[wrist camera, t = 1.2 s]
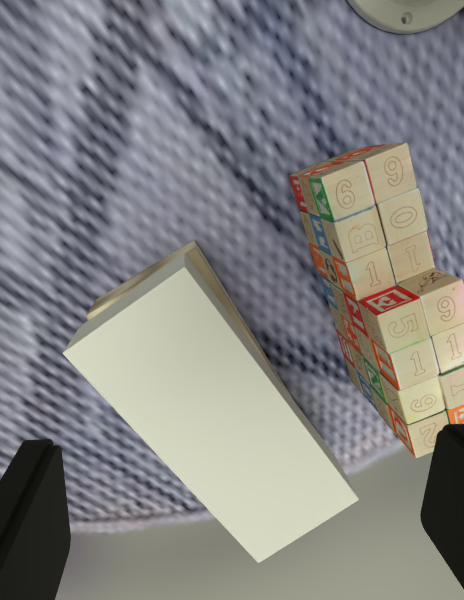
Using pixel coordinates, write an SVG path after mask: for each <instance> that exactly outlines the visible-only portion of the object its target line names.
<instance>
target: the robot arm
mask: <svg viewBox="0 0 464 600" xmlns="http://www.w3.org/2000/svg"><path fill="white" fill-rule="evenodd" d="M347 1H348V2H349V4H350V5H351V6H352V7H353V9H354V10H355V11H356V12H357V14H359V15H360V16H361V17H362V18H363V19H365V20H366V21H367V22H368V23H370V24H372V25H373V26H375V27H377V28H379V29H381V30H384V31H388V32H392V33H396V34H412V33H417V32H422V31H426V30H428V29H430V28H433V27H435V26H437V25H439V24H441V23H442V22H444V21H446V20H447V19H449V18H451V17H452V16H453V15H455V14H456V13H457V12H458V11H459V10H460V9H462V8H463V7H464V0H347ZM402 19H403V21H404V24H403V22H402ZM421 522H422V525H423V528H424V529H425V531H426V533H427V534H428V536H429V537H430V539H431V540H432V542H433V543H434V545H435V546H436V548H437V549H438V551H439V552H440V554H441V555H442V557H443V558H444V560H445V561H446V563H447V564H448V566H449V567H450V569H451V570H452V572H453V573H454V575H455V577H456V578H457V580H458V581H459V582H460V584H461V586H462V587H463V589H464V424H447V425H445V426H444V427H443V429H442V430H441V431H439V432H438V433H437V437H436V442H435V446H434V451H433V456H432V461H431V465H430V471H429V475H428V480H427V485H426V490H425V494H424V500H423V504H422V509H421ZM70 541H71V535H70V525H69V516H68V506H67V497H66V488H65V478H64V469H63V459H62V451H61V447H60V446H59V445H56V446H54V445H53V442H52V440H51V439H43V440H25V441H24V442H23V443H22V444H21V446H20V448H19V449H18V451H17V453H16V455H15V456H14V458H13V460H12V461H11V463H10V465H9V467H8V468H7V470H6V472H5V473H4V475H3V477H2V478H1V480H0V600H55V597H56V594H57V591H58V587H59V584H60V580H61V577H62V574H63V571H64V567H65V564H66V561H67V557H68V554H69V549H70Z"/></svg>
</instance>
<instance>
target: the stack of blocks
mask: <svg viewBox="0 0 464 600" xmlns="http://www.w3.org/2000/svg"><path fill="white" fill-rule="evenodd" d="M289 178H290V181H291V184H292V187H293V190H294V193H295V196H296V200H297V202H298V206H299V208H300V211H299V212H300V216H301V219H302V222H303V225H304V228H305V232H306V235H307V238H308V240H309V245H310V248H311V251H312V255H313V258H314V261H315V264H316V267H317V271H318V272H319V274H320V278H321V281H322V284H323V287H324V291H325V294H326V297H327V300H328V302H329V306H330V309H331V313H332V316H333V319H334V322H335V325H336V331H337V335H338V338H339V341H340V344H341V348H342V351H343V354H344V358H345V362H346V365H347V368H348V372H349V375H350V378H351V381H352V382H353V383H354V384H355V386H356V387H357V388H358V389H359V390H360V392H361V393H362V394H363V395H364V396H365V397H366V398H367V399H368V401H369V402H370V403H371V404H372V405H373V406H374V408H375V409H376V410H377V412H378V413H379V415H380V416H381V417H382V418H383V420H384V421H385V422H386V423H387V425H388V426H389V427H390V428H391V429H392V431H393V432H394V433H395V434H397V436H398V437H399V438H400V440H401V441H402V442H403V443H404V445H405V446H406V447H407V448H408V449H409V451H410V452H411V453H412V454H413V455H414V456H415V457H417V458H418V457H420V456H423V455H425V454H427V453H430V452H432V451H434V446H435V442H436V437H437V433H438V432H439V431H441V430H442V429H443V427H444V426H445V425H447V424H464V283H463V280H462V279H461V278H458V277H455V276H453V275H451V274H448V273H446V272H443V271H441V270H439V269H436V268H435V263H434V259H433V254H432V250H431V246H430V241H429V236H428V232H427V229H428V226H427V222H426V217H425V213H424V208H423V204H422V199H421V195H420V190H419V188H418V187H417V183H416V178H415V173H414V169H413V165H412V160H411V156H410V151H409V146H408V143H397V144H388V145H386V144H384V145H375V146H370V147H364V148H358V149H353V150H351V151H348V152H346V153H343V154H341V155H338V156H336V157H333V158H331V159H328V160H326V161H323V162H321V163H317V164H315V165H312V166H310V167H307V168H305V169H302V170H300V171H298V172H295V173H293V174H291V175H290V176H289Z"/></svg>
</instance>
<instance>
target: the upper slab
mask: <svg viewBox="0 0 464 600" xmlns="http://www.w3.org/2000/svg"><path fill="white" fill-rule="evenodd" d="M63 354H64V355H65V356H66V357H67V359H68V360H69V361H70V362H71V363H72V364H73V365H74V366H75V367H76V368H77V369H78V370H79V371H80V372H81V374H82V375H83V376H84V377H85V378H86V379H87V380H88V381H89V382H90V383H91V384H92V385H93V386H94V387H95V389H96V390H97V391H98V392H99V393H100V394H101V395H102V396H103V397H104V398H105V399H106V400H107V401H108V402H109V404H110V405H111V406H112V407H113V408H114V409H115V410H116V411H117V412H118V413H119V414H120V415H121V416H122V417H123V419H124V420H125V421H126V422H127V423H128V424H129V425H130V426H131V427H132V428H133V429H134V430H135V431H136V432H137V434H138V435H139V436H140V437H141V438H142V439H143V440H144V441H145V442H146V443H147V444H148V445H149V446H150V447H151V449H152V450H153V451H154V452H155V453H156V454H157V455H158V456H159V457H160V458H161V459H162V460H163V461H164V462H165V464H166V465H167V466H168V467H169V468H170V469H171V470H172V471H173V472H174V473H175V474H176V475H177V476H178V477H179V479H180V480H181V481H182V482H183V483H184V484H185V485H186V486H187V487H188V488H189V489H190V490H191V491H192V492H193V494H194V495H195V496H196V497H197V498H198V499H199V500H200V501H201V502H202V503H203V504H204V505H205V506H206V507H207V509H208V510H209V511H210V512H211V513H212V514H213V515H214V516H215V517H216V518H217V519H218V520H219V521H220V522H221V523H222V525H223V526H224V527H225V528H226V529H227V530H228V531H229V532H230V533H231V534H232V535H233V536H234V537H235V538H236V540H237V541H238V542H239V543H240V544H241V545H242V546H243V547H244V548H245V549H246V550H247V551H248V552H249V553H250V555H251V556H252V557H253V558H254V559H255V560H256V561H257V562H258V563H259V562H261V561H263V560H264V559H266V558H267V557H269V556H270V555H272V554H274V553H275V552H277V551H278V550H280V549H281V548H283V547H285V546H286V545H288V544H289V543H291V542H293V541H294V540H296V539H297V538H299V537H301V536H302V535H304V534H305V533H307V532H309V531H310V530H312V529H313V528H315V527H316V526H318V525H320V524H321V523H323V522H324V521H326V520H327V519H329V518H331V517H332V516H334V515H335V514H337V513H339V512H340V511H342V510H343V509H345V508H347V507H348V506H350V505H351V504H353V503H354V502H356V501H358V500H359V499H358V497H357V495H356V493H355V491H354V489H353V487H352V485H351V484H350V482H349V480H348V478H347V476H346V474H345V473H344V471H343V469H342V467H341V465H340V463H339V461H338V460H337V458H336V457H335V456H334V454H333V453H332V452H331V450H330V449H329V447H328V446H327V445H326V443H325V442H324V441H323V439H322V438H321V437H320V435H319V434H318V433H317V431H316V430H315V429H314V427H313V426H312V425H311V423H310V422H309V420H308V419H307V418H306V416H305V415H304V414H303V412H302V411H301V410H300V408H299V407H298V406H297V404H296V403H295V402H294V400H293V399H292V398H291V396H290V395H289V393H288V392H287V391H286V389H285V388H284V387H283V385H282V384H281V383H280V381H279V380H278V379H277V377H276V376H275V375H274V373H273V372H272V370H271V369H270V368H269V366H268V365H267V364H266V362H265V361H264V360H263V358H262V357H261V356H260V354H259V353H258V352H257V350H256V349H255V348H254V346H253V345H252V343H251V342H250V341H249V339H248V338H247V337H246V335H245V334H244V333H243V331H242V330H241V329H240V327H239V326H238V325H237V323H236V322H235V321H234V319H233V318H232V316H231V315H230V314H229V312H228V311H227V310H226V308H225V307H224V306H223V304H222V303H221V302H220V300H219V299H218V298H217V296H216V295H215V293H214V292H213V291H212V289H211V288H210V287H209V285H208V284H207V283H206V281H205V280H204V279H203V277H202V276H201V275H200V273H199V272H198V271H197V269H196V268H195V266H194V265H193V264H192V262H191V261H190V260H189V258H188V257H187V256H186V254H185V253H183V254H182V255H180V256H179V257H177V258H176V259H175V260H173V261H172V262H170V263H169V264H167V265H166V266H165V267H163V268H162V269H160V270H159V271H158V272H156V273H155V274H153V275H152V276H151V277H149V278H148V279H146V280H145V281H144V282H142V283H141V284H139V285H138V286H137V287H135V288H134V289H132V290H131V291H129V292H128V293H127V294H125V295H124V296H122V297H121V298H120V299H118V300H117V301H115V302H114V303H113V304H111V305H110V306H108V307H107V308H106V309H104V310H103V311H101V312H100V313H99V314H97V315H96V316H94V317H93V318H92V319H90V320H89V321H87V322H86V323H84V324H83V325H82V326H80V327H79V329H78V330H77V332H76V333H75V335H74V336H73V338H72V339H71V341H70V342H69V344H68V345H67V347H66V348H65V350H64V351H63Z"/></svg>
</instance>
